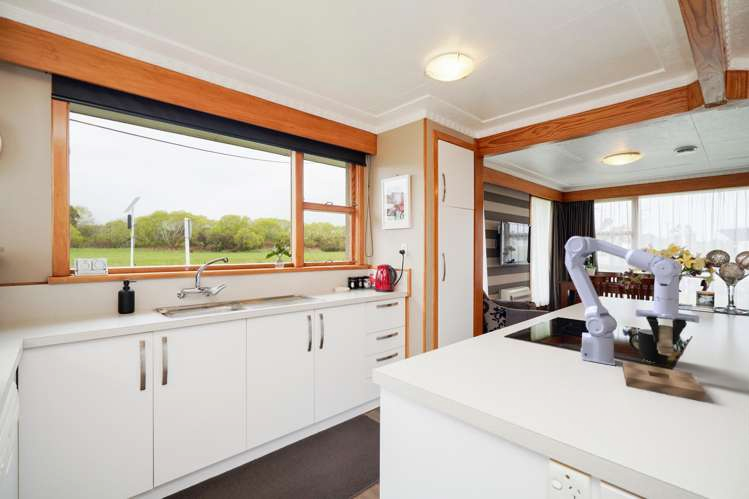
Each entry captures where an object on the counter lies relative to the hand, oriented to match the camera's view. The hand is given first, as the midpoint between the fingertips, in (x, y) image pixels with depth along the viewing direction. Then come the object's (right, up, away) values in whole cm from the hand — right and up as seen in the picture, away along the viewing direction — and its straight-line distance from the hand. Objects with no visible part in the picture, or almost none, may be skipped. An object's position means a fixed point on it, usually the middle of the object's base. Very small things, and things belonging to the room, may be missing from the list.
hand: (664, 342), depth 101 cm
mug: (+8, -11, +16) cm, 21 cm away
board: (-6, -10, -5) cm, 13 cm away
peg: (0, -3, 0) cm, 3 cm away
